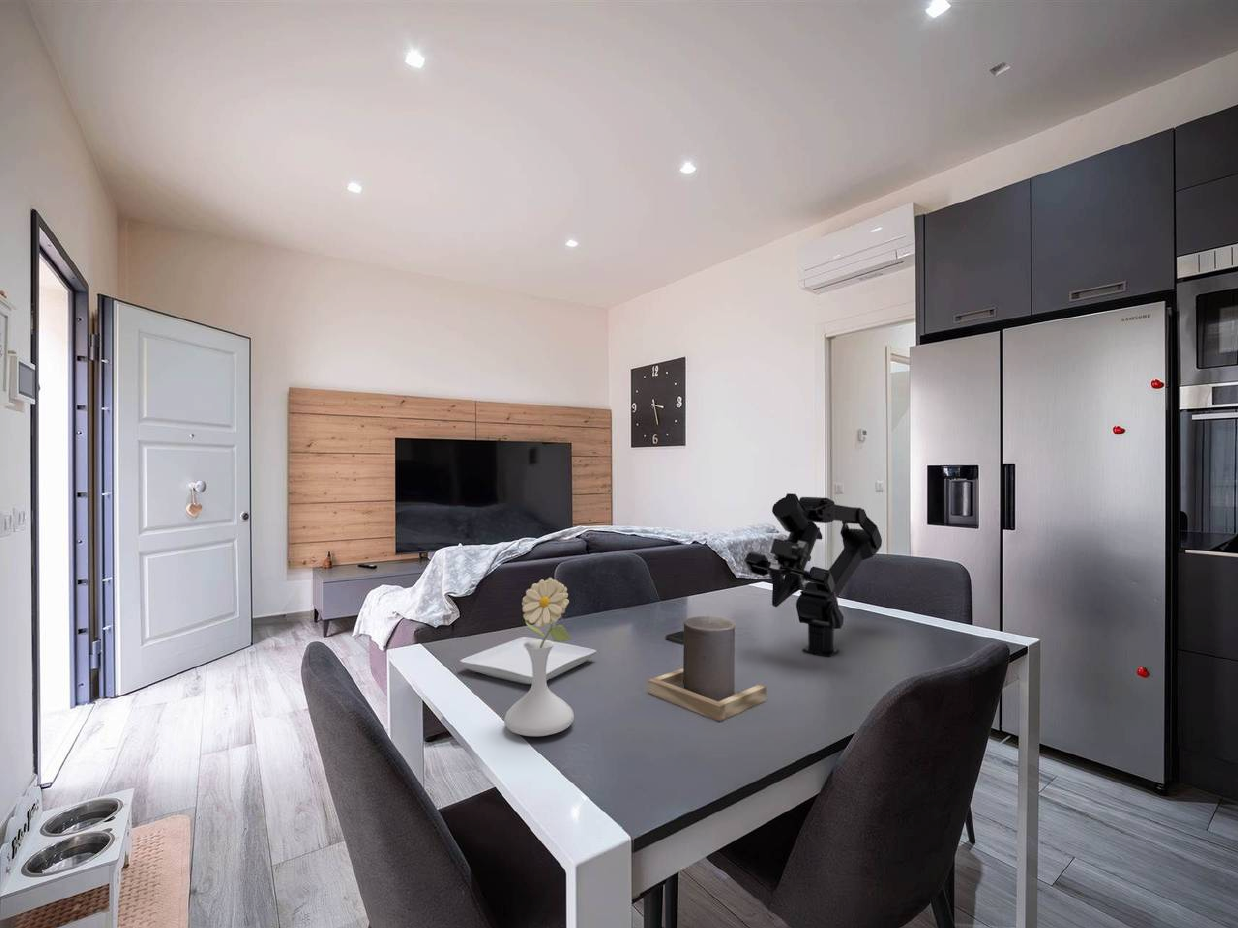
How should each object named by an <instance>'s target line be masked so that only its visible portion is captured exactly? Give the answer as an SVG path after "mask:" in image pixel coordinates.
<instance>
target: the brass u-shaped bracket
mask: <svg viewBox="0 0 1238 928" xmlns="http://www.w3.org/2000/svg"><path fill="white" fill-rule="evenodd" d="M647 680H648V681H647V683H648V685H647V686H648V687H647V688H648V691H647V694H650V695H653V697H656V698H659V699H662V700H664V701H667V702H670V703H671V704H673V705H676V706H678V707H679V706H680V707H683V708H684V709H688V710H690V711H691V712H694V713H697V714H699V715H702V716H704V717H707V718H709V719H712V720H715V721H717V722H721V721H724V720H727V719H729V718H730V717H732V716H735V715H737V714H739V713H741V712H744V711H747V710H748V709H752V708H753V707H755V706H757V705H760V704H762V703H764V702H766V701H767V686H765V685H762V684H757V685H756V686H753V687H750V688H748V689H745V690H743V691H740V692H738V693H736V694H735V693H734V695H733V696H731V697H728V698H726V699H723V700H721V701H719V702H717V701H715V700H712V699H709V698H707V697H704V696H701V695H699V694H696V693H693V692H690V691H688V690H685V689H684V688H682V687H681V686H683V685H684V684H683V667H682V668H679V669H676V670H674V671H671V672H667V673H665V674H662V675H658V676H655V677H652V678H650V679H647Z"/></svg>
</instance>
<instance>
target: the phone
mask: <svg viewBox="0 0 1238 928" xmlns="http://www.w3.org/2000/svg"><path fill="white" fill-rule="evenodd" d="M683 638H684V630H681V631H676V632H674V633H670V634H666V635H665V640H666V641H668V642H672V643H675V644H679V645H682V646H684V644H683V643H684V641H683Z"/></svg>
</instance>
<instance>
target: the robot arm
mask: <svg viewBox="0 0 1238 928" xmlns="http://www.w3.org/2000/svg"><path fill="white" fill-rule="evenodd" d="M771 509H772V510H771V511H772V515H773V516H774V517H775V518H776V519H777V521H778V523H780V525H781V526H782V528H783V529H784V530H785V531H786V532H788V533H789V534H788V537H787V539H786V538H785V539H779V538H773V541H772V544H771V549H770V552H769V553H770V554H773V559H774V560H775V561H777V562H775V561H772V560H771V561H769V559H768V558H767V556H766V554H762V553H759V552H755V551H750V552H748V553H746V555H745V557H744V560H743V561H744V563H745V565H746V566H747V568H748V570H749V572H750V573H751V574H753V575H758V576H760V577H765V576H767V575H768V576H769V578H770V579H771V582H772V583H771V585H772V591H771V592H772V596H771V605H772V607H773V608H778V607H779V606H781V604H783V603H784V602H785V601H786V600H787V599H788V598H789V597H791V596H792V595H794V594H796V593H797V592H799V593H800V594H799V596H798V597H797V598H796V600H795V601H796V602H795V608H796V613H797V617H798V622H799V623H801V624H807V646H805V647H803V648H802V650H801V651H802V652H803V653H804V652H805V653H808V654H809V653H810V654H813V655H814V654H815V655H819V656H825V657H832V656H834V654H836V653H838V651H840V648H839V647H835V630H839V629H840V630H841V629H842V627H843V625H844V621H845V619H844V618H845V617H844V614H843V613H842V611H841V609H839V607H840V606H839V600H838V596H839V595H840V594H841V592H842V591H843V589H844V588H845V587H846V584H847V583H848V582H849V581H850V579H851V578H852V576H853V575H854V573H855V571H856V570H857V568H858V567H859V566H860V564H861V562H863V561H865V560H866V561H867V560H868V559H870V558H873V557H874V556H875V555H876V554H877V553H878V552H879V551H880V549H881V548H882V544H883V540H882V539H883V538H882V535H881V533H880V530H879V528H878V526H877V525H876V524H875V522H874V521H872V519H870V518H869V517H868V516H867V513H866V510H865V509H864V508H862V507H856V506H855V507H853V506H847V505H846V506H845V505H840V504H835V501H834V500H832V499H830V498H828V497H821V496H819V497H818V496H800V497H798V496H797V494H796V493H790V492H789V493H786V495H785V497H782V498H780V499H778V500H777V501H776V502H775V503H774V504H773V506H772V508H771ZM834 521H837V522H841V523H842V526H841V529H840V536H841V538H842V545H843V549H842V551H841V552H840V553H839V555H838V556H837V558H836V559H835V561H834V562H833V563H832V565H831V566H830V567H829V569H825V568H820V567H817V566H812V567H810V569H809V570H806V566H807V563H808V562H811V559H812V556H811V554H812V552H813V548H814V547H815V544H816V541H817V540H823V534H822V532H821V527H819V526H817V524H816V523H820V524H821V523H823V524H827V523H832V522H834ZM848 524H858V525H859V526H860V528H850V527H849V525H848ZM806 582H807V583H806Z"/></svg>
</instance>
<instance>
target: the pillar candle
mask: <svg viewBox="0 0 1238 928" xmlns="http://www.w3.org/2000/svg"><path fill="white" fill-rule="evenodd" d="M683 631H684V638H683V641H684V643H683V644H684V645H683V649H682V650H683V656H682V657H683V660H682V661H683V662H682V663H683V666H682V668H683V684H684V685H682V686H683V689H685V690H688V691H690V692H693V693H696V694H699V695H701V696H704V697H707V698H709V699H712V700H715V701H717V702H719V701H721V700H723V699H726V698H728V697H731V696H733V695H735V692H736V691H735V689H736V688H735V684H736V681H735V678H736V677H735V675H736V673H735V672H736V623H735V622H733V621H732V620H730V619H729V618H723V617H718V616H710V615H701V616H693V617H688V618H686V619H684V621H683Z"/></svg>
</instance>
